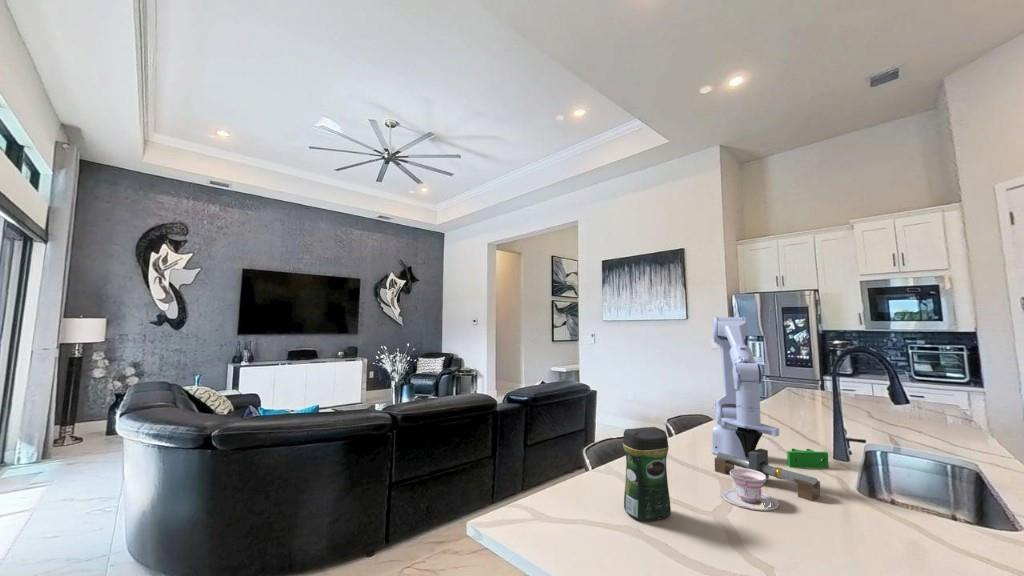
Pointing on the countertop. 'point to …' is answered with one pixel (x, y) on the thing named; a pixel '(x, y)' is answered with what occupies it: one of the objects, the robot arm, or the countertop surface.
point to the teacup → (749, 490)
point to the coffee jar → (646, 473)
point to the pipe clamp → (807, 459)
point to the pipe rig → (772, 474)
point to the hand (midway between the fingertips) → (749, 457)
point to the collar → (758, 459)
